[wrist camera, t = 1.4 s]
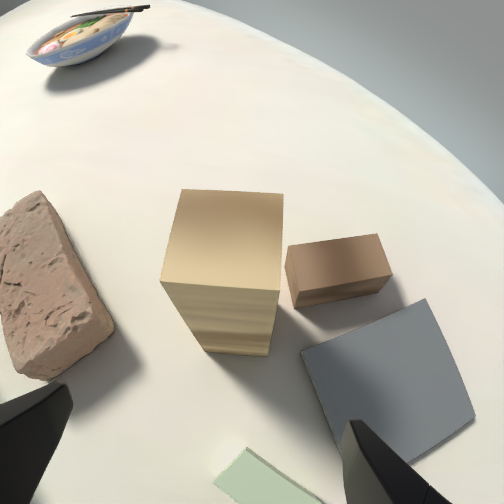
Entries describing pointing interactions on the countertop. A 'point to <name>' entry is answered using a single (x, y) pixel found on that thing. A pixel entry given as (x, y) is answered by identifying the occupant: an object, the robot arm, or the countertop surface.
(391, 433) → the slate coaster
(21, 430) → the robot arm
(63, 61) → the ramen bowl
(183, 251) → the oak post
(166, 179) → the countertop surface
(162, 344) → the countertop surface
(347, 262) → the walnut brick
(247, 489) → the sage brick
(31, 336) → the brick
